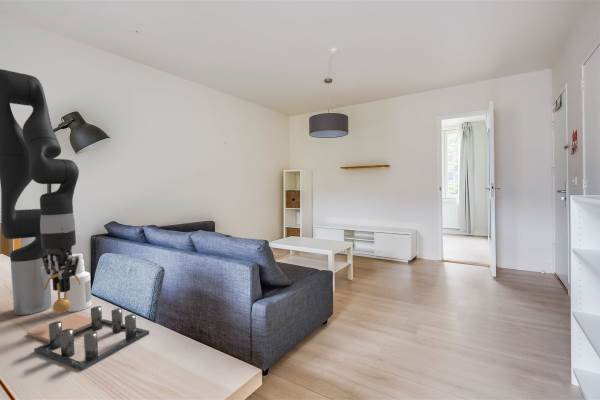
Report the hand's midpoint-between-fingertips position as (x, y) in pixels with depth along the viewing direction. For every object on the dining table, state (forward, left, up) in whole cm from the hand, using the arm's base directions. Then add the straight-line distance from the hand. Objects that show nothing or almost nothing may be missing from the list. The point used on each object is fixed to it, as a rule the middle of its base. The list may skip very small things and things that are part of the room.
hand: (61, 290), depth 83 cm
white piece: (-12, +11, -11) cm, 19 cm away
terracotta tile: (0, 0, -11) cm, 11 cm away
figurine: (-2, 0, -6) cm, 6 cm away
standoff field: (+16, -1, -11) cm, 20 cm away
